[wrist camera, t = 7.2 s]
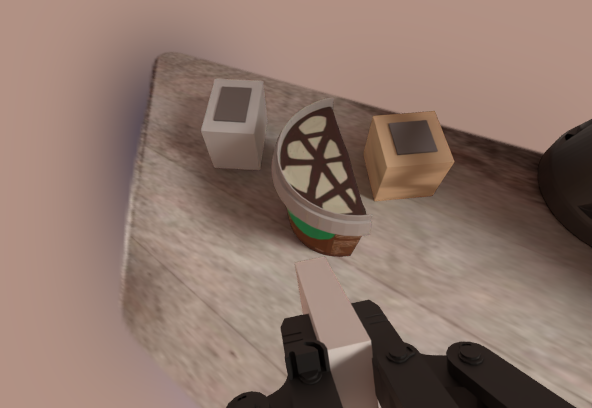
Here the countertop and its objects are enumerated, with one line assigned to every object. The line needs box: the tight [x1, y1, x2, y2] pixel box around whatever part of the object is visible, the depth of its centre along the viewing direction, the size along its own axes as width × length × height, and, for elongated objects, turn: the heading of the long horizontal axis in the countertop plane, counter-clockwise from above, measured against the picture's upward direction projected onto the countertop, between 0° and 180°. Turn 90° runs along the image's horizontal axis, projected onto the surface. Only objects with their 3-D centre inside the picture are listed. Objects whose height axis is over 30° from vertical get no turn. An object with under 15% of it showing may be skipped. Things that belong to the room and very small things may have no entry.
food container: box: [271, 97, 373, 257], centre depth 31 cm, size 12×6×10 cm, turn 11°
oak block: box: [363, 111, 454, 201], centre depth 35 cm, size 6×6×6 cm
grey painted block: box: [201, 78, 268, 170], centre depth 37 cm, size 5×7×6 cm
